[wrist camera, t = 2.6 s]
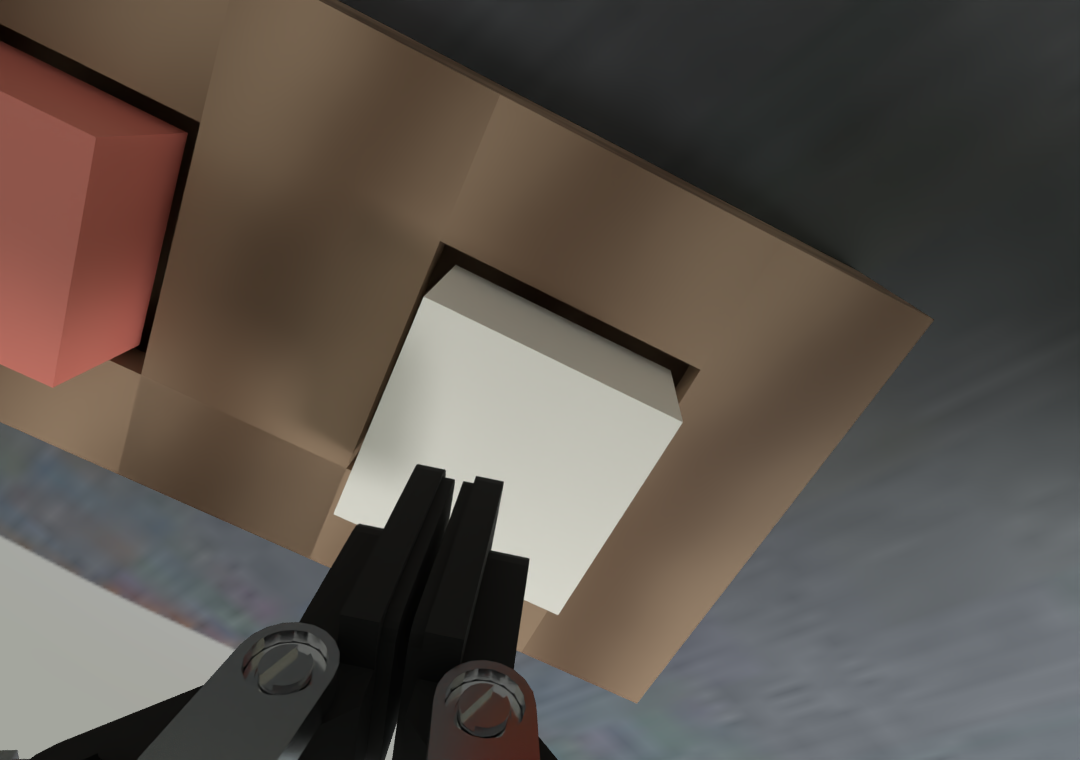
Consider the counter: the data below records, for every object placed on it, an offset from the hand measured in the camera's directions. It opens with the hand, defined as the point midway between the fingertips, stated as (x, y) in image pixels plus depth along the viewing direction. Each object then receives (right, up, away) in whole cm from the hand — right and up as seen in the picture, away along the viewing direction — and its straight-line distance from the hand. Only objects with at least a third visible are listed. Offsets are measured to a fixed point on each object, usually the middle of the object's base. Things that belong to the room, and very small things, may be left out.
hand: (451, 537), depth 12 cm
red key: (-11, +8, +4) cm, 14 cm away
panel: (-4, +7, +9) cm, 12 cm away
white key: (+1, +2, +5) cm, 6 cm away
